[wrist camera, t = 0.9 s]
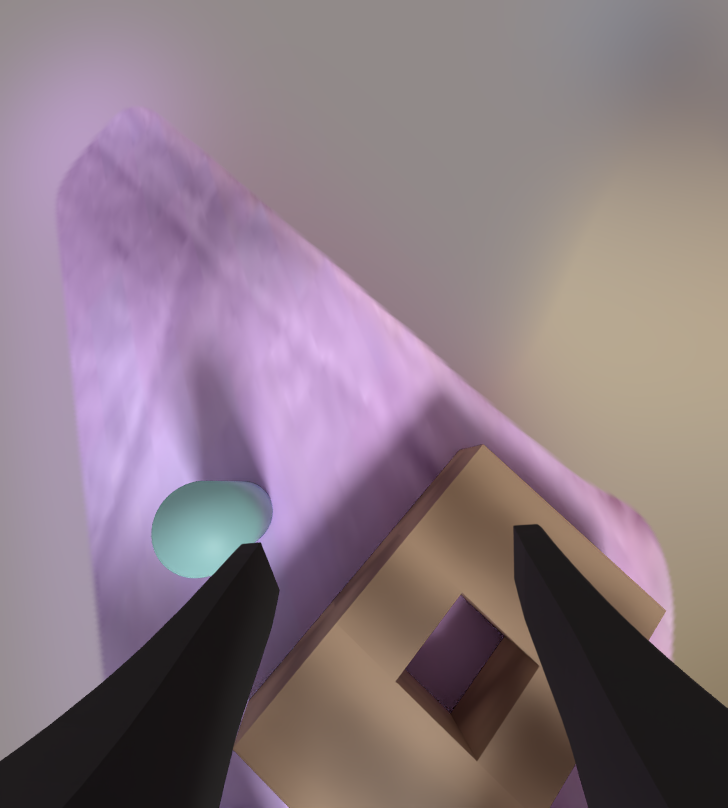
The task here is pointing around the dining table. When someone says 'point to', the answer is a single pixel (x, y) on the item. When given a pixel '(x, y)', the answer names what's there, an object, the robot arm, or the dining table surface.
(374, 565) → the socket block
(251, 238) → the dining table surface
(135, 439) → the dining table surface
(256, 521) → the peg
